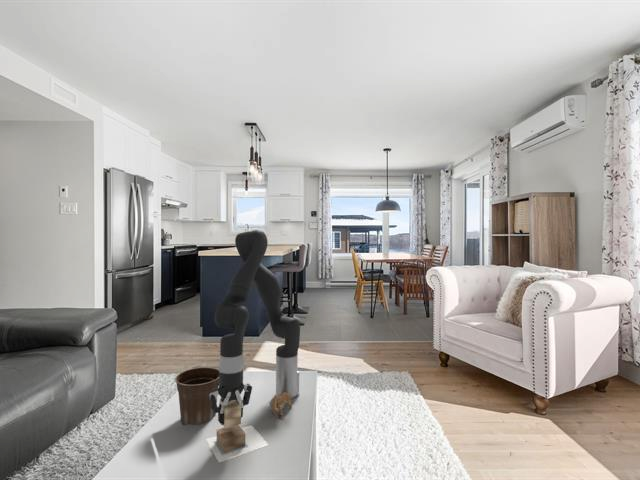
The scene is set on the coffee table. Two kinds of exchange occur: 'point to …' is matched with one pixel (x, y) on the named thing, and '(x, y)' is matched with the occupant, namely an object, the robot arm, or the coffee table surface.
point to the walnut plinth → (230, 438)
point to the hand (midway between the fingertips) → (230, 421)
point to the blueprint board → (251, 443)
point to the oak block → (232, 414)
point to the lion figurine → (280, 403)
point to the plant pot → (196, 394)
